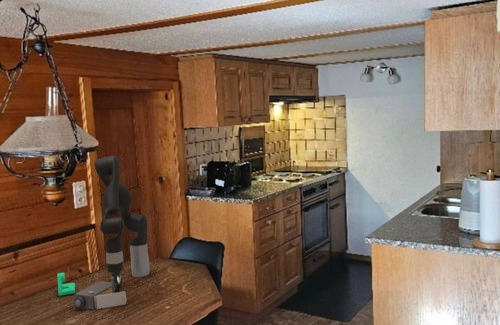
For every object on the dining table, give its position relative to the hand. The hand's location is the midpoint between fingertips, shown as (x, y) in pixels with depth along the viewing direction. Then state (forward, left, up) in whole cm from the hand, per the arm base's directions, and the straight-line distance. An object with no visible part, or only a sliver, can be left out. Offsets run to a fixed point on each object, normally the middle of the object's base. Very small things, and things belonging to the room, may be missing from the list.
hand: (117, 296), depth 230 cm
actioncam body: (+2, -11, -4) cm, 12 cm away
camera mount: (-6, -35, -4) cm, 36 cm away
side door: (+5, 0, -3) cm, 6 cm away
